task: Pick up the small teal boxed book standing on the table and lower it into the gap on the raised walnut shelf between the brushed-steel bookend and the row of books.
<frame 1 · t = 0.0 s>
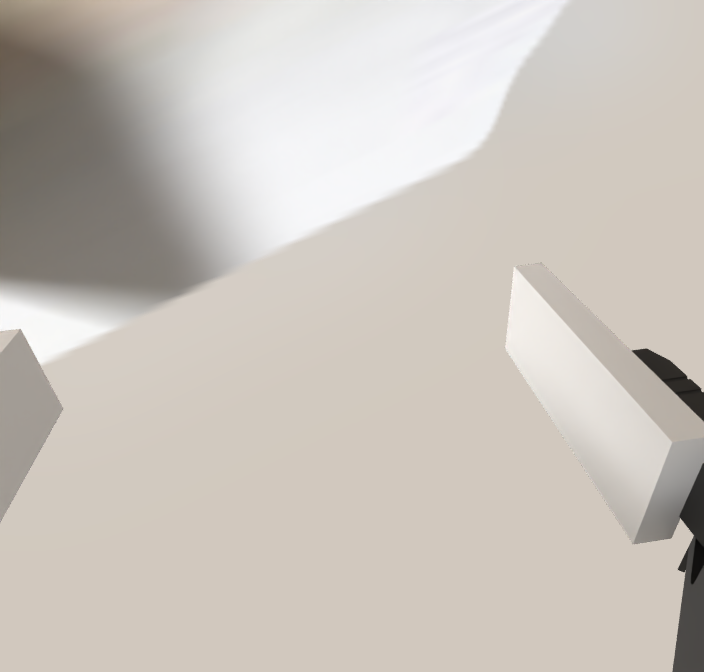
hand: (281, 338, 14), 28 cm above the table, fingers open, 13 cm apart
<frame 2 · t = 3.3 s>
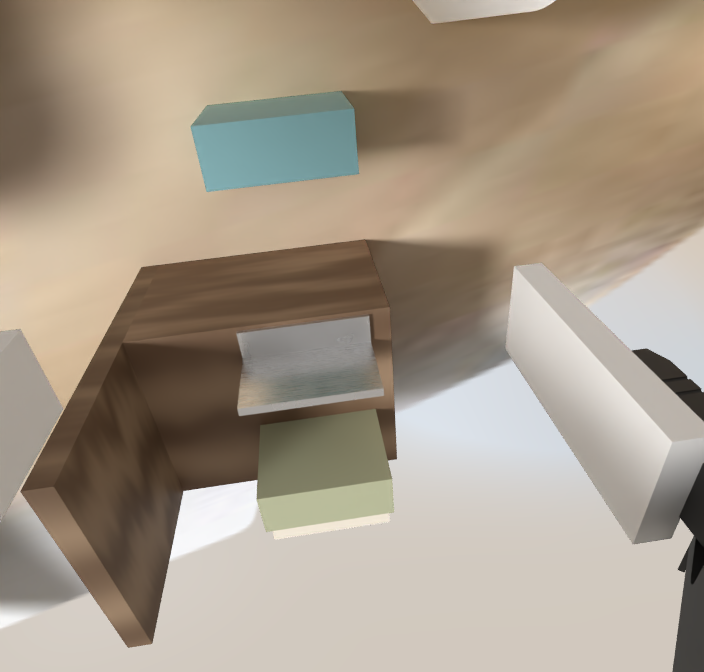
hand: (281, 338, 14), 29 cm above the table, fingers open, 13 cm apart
walnut shelf: (277, 324, 48), on the table
bookend: (307, 351, 35), resting on walnut shelf
teal book: (278, 126, 38), on the table
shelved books: (315, 402, 38), resting on walnut shelf
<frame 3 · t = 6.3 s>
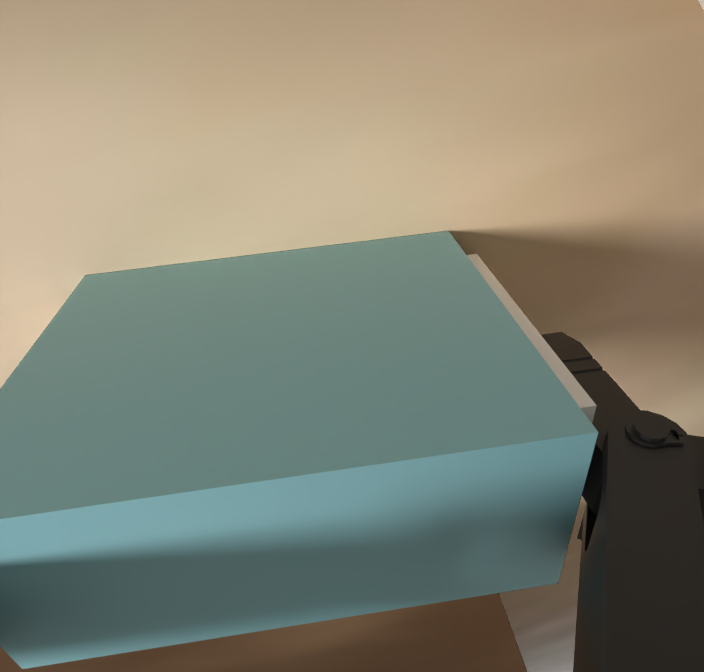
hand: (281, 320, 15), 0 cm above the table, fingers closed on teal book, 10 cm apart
walnut shelf: (277, 628, 24), on the table
teal book: (281, 314, 15), on the table, touching gripper
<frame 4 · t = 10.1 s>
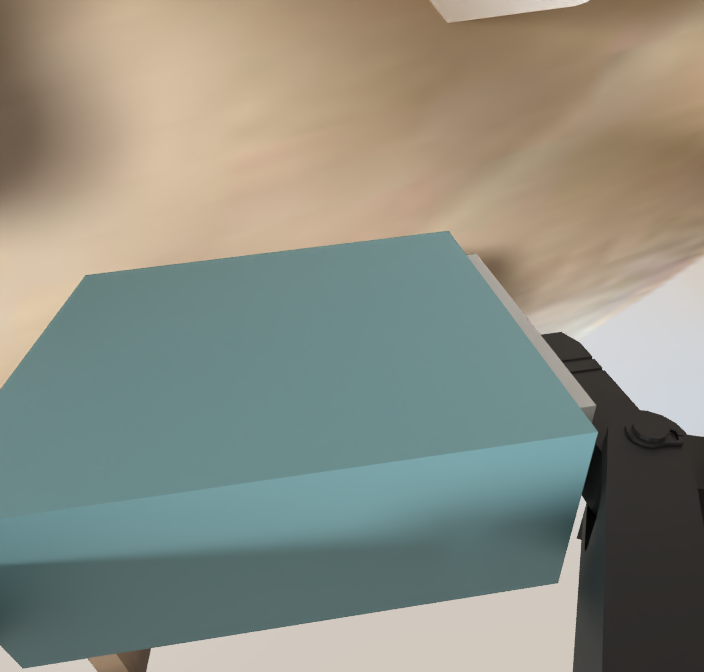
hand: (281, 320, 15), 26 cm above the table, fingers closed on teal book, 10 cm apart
walnut shelf: (279, 338, 45), on the table
teal book: (281, 314, 15), point 25 cm above the table, touching gripper
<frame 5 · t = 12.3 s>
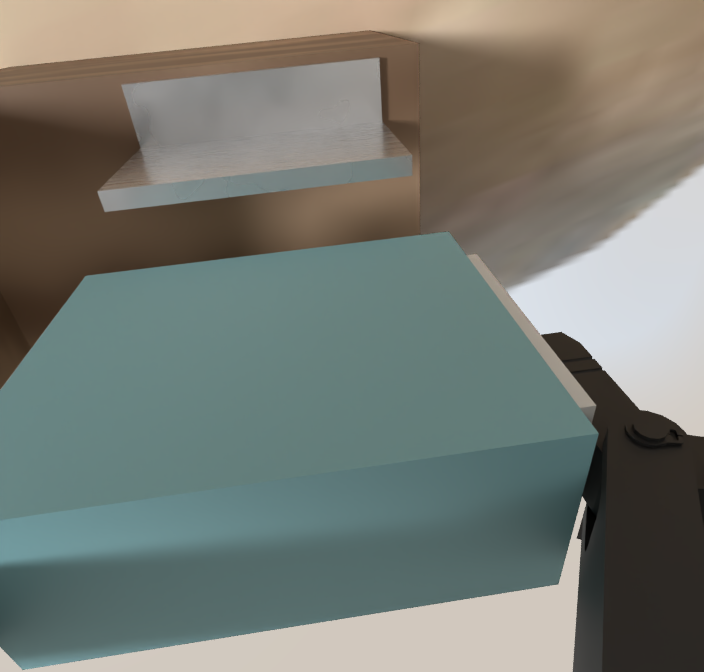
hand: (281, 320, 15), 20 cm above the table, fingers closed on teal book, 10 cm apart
walnut shelf: (236, 183, 31), on the table
bookend: (264, 141, 19), resting on walnut shelf
teal book: (282, 315, 15), point 19 cm above the table, touching gripper
when the fingers open (14 cm above the table, at t = 14.0 s): teal book drops 1 cm, resting on walnut shelf.
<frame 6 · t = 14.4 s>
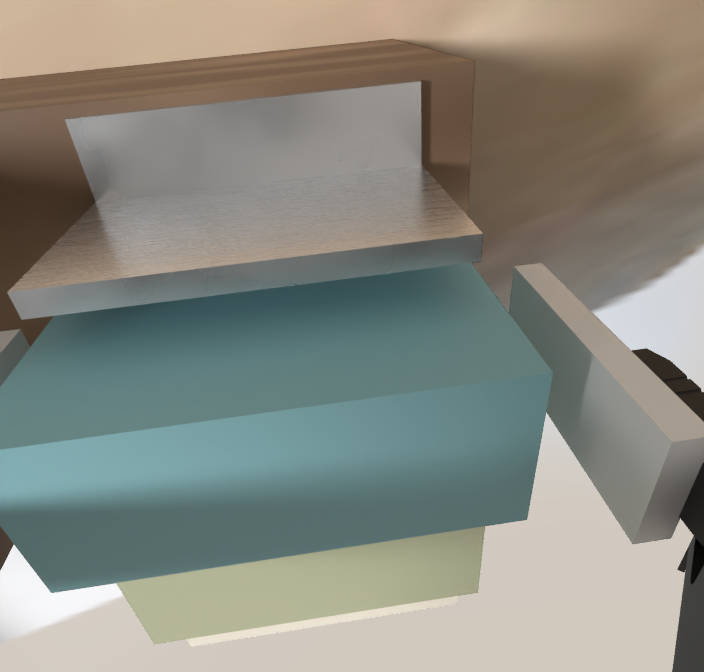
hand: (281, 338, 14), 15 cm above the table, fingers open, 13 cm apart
walnut shelf: (231, 218, 27), on the table
bookend: (263, 190, 14), resting on walnut shelf
teal book: (281, 292, 16), point 12 cm above the table, touching walnut shelf
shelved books: (289, 331, 17), resting on walnut shelf
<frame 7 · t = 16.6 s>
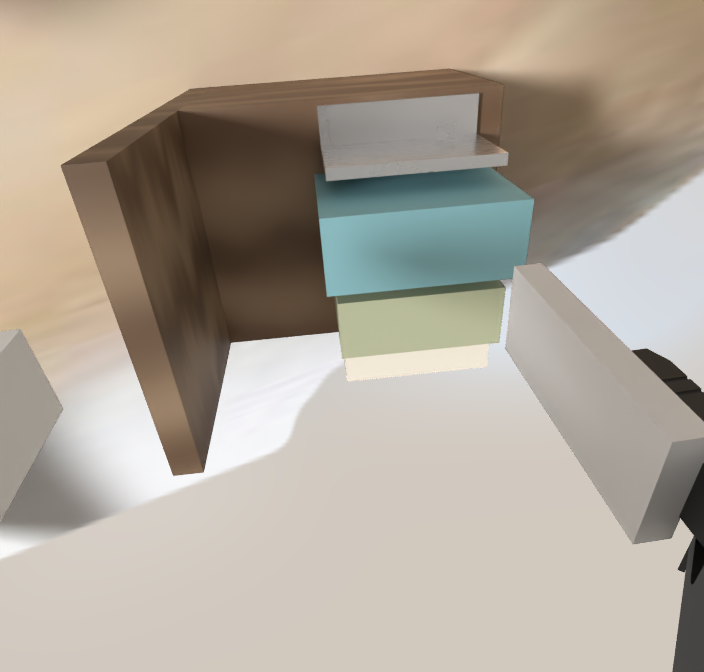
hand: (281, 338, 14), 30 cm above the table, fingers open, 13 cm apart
walnut shelf: (338, 178, 41), on the table
bookend: (398, 144, 29), resting on walnut shelf
teal book: (398, 200, 31), point 12 cm above the table, touching walnut shelf
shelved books: (399, 224, 31), resting on walnut shelf
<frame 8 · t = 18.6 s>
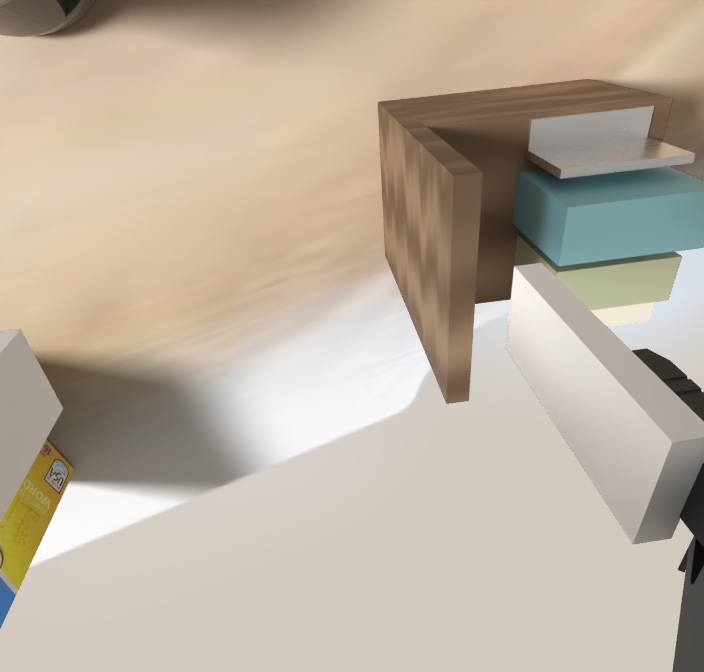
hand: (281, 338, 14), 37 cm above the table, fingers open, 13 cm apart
walnut shelf: (486, 173, 49), on the table
bookend: (585, 146, 37), resting on walnut shelf
teal book: (577, 190, 39), point 12 cm above the table, touching walnut shelf
game box: (4, 418, 59), on the table
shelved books: (574, 209, 40), resting on walnut shelf
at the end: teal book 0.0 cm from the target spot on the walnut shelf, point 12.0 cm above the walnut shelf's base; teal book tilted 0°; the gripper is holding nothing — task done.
